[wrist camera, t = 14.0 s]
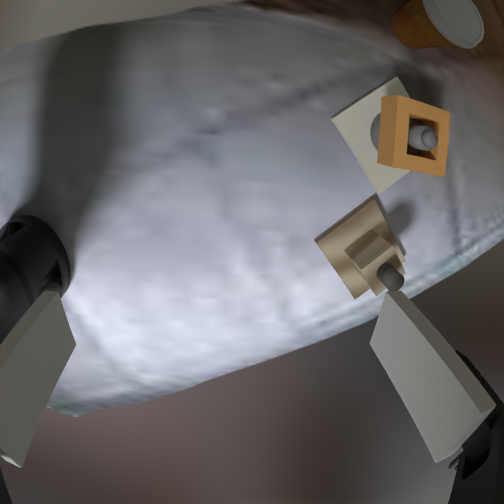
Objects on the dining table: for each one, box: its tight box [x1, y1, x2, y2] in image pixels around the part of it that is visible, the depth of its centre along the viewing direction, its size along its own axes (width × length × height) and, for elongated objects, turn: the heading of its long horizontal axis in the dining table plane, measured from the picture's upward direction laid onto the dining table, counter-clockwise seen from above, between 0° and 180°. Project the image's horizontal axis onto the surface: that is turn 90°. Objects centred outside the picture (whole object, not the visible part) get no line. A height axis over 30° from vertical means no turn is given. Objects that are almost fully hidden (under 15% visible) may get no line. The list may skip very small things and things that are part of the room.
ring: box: [377, 95, 450, 177], centre depth 27 cm, size 8×8×4 cm
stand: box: [314, 197, 405, 299], centre depth 35 cm, size 12×10×10 cm
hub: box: [330, 77, 438, 195], centre depth 29 cm, size 12×12×10 cm
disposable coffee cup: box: [391, 0, 484, 48], centre depth 22 cm, size 10×10×12 cm
